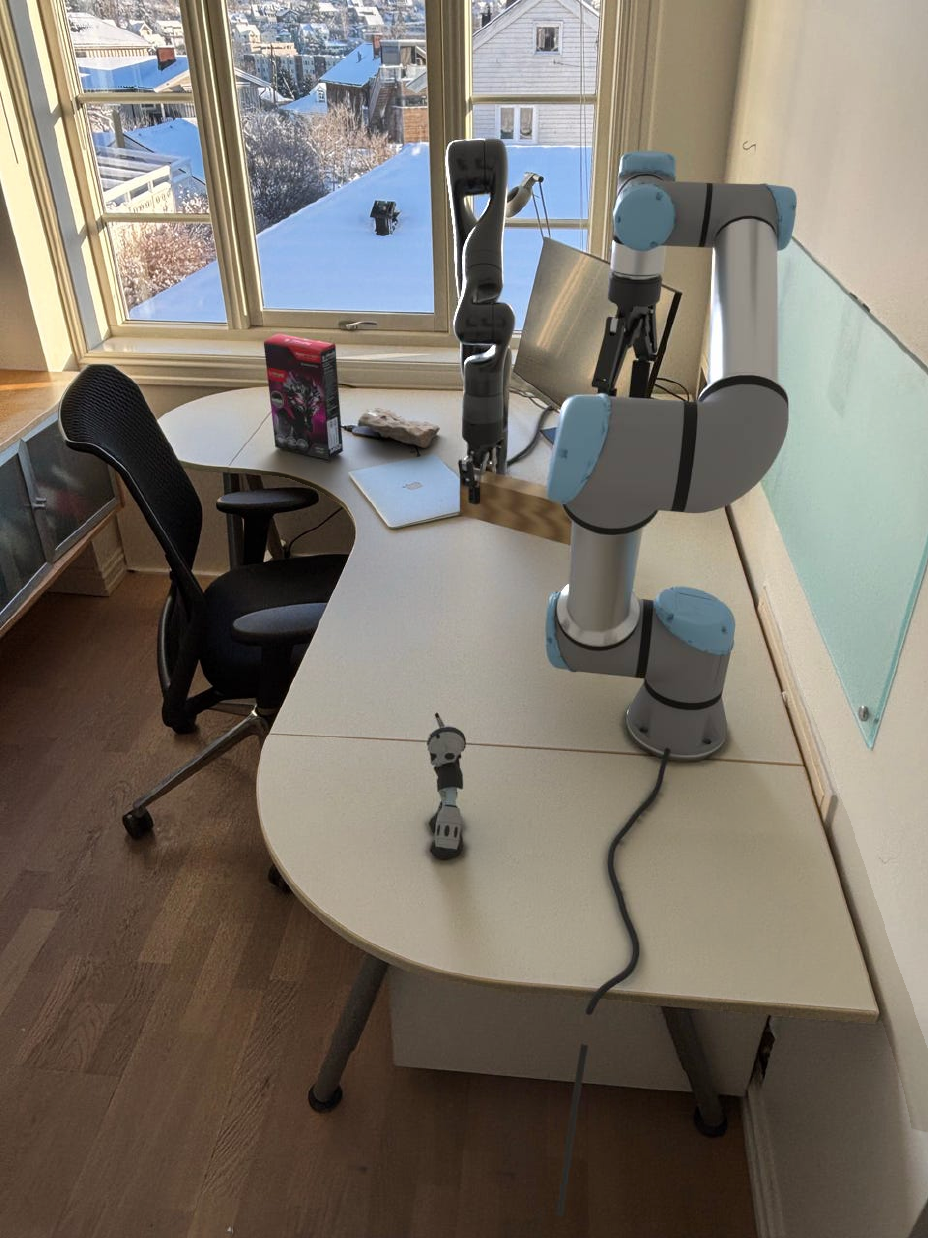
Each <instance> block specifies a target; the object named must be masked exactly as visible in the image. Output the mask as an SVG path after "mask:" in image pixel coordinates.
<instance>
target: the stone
mask: <svg viewBox="0 0 928 1238" xmlns="http://www.w3.org/2000/svg"><path fill="white" fill-rule="evenodd" d="M357 426H358V427H368V428H369V429H370V430H371V431H373V432H375V433H378V434H380V437H383V438H387V439H388V438H391V439H393V440H395V441H400V442H401V443H404V444H409V445H415V446H417V447H420V448H423V449H426V448H427V447H428V446H429V445H430V443H431V442H432V441H431V440H433V438H435V436H436V435H438V432H439V431H440V429H441V428H440V427H439V426H438V425H436V424H434V423H430V422H427V421H418V420H413V419H406V418H405V417H402V416H401V415H397V414H396V413H394V412H391V410H390V409H384V408H380V407H377V408H374V409H366V410H365V411H363V413H362V414H361V416H360V417H359V419H358V420H357Z"/></svg>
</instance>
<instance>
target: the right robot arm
mask: <svg viewBox="0 0 928 1238" xmlns="http://www.w3.org/2000/svg"><path fill="white" fill-rule="evenodd" d="M676 167H677V159H676V156H675V155H674V154H672V153H670V152H667V151H660V150H632V151H627V152H625V153H624V154H623V155H622V156H621V158H620V161H619V168H618V169H619V170H618V174H617V188H616V197H615V201H614V203H613V204H614V205H613V210H612V224H613V235H612V244H610V245H609V248H608V250H609V252H611V258H610V270H611V271H612V272H611V273H610V274H609V275H608V283H607V284H608V286H607V299H608V301H609V302H611V303H612V304H615V305H616V308H617V309H616V312H615V315H614V317H613V316H607V317H606V320H605V326H604V334H603V338H602V342H601V345H600V349H599V352H598V353H599V354H598V358H597V361H596V365H595V369H594V373H593V377H592V380H591V388H595V389H597V392H596V393H597V394H574V395H573V394H572V395H571V396H569V397H567V398H566V399H565V400H564V402H563V403H562V405H561V407H560V411H559V414H558V418H557V424H556V429H555V435H554V442H553V446H552V451H551V456H550V462H549V469H548V475H547V481H546V486H547V491H546V492H547V497H548V498H549V499H550V500H551V501H556V502H557V503H559V504H562V507H563V509H564V511H565V513H566V515H567V516H568V517H569V518H570V520H571V521H572V529H571V546H570V551H569V568H568V569H569V570H568V584H567V585H566V586H564V588H563V589H562V590H556V591H554V592H553V593H552V594H550V597H549V599H548V603H547V608H546V615H545V629H544V630H545V650H546V651H545V653H546V657H547V659H548V663H549V664H550V665H551V666H552V667H553V668H555V669H558V670H563V671H564V670H565V671H568V672H570V673H586V674H596V675H604V676H605V675H606V676H616V677H626V678H635V679H641V680H642V679H643V682H642V684H641V685H640V688H639V689H638V691H637V692H636V694H635V695H634V697H633V699H632V701H631V702H630V704H629V706H628V708H627V712H626V719H625V728H626V732H627V734H628V736H629V738H630V739H631V741H632V742H634V744H636V745H637V746H638V747H639V748H640V749H641V750H643V751H645V752H646V753H648V754H650V755H651V756H654V757H656V758H659V759H661V763H660V765H659V766H660V767H659V771H658V774H657V780H656V783H655V785H654V788H653V789H652V791H651V793H650V794H649V796H648V797H647V798H646V799H645V801H643V803H642V804H641V805H640V806H639V807H638V808H637V809H636V810H635V811H634V812H633V814H632V815H631V816H630V818H629V819H628V820H627V822H626V823H625V824H624V825H623V826H622V828H621V829H620V830H619V831H618V833H617V834H616V835H615V837H614V838H613V839H612V841H611V844H610V846H609V850H608V853H607V861H606V862H607V871H608V876H609V879H610V882H611V885H612V888H613V891H614V894H615V896H616V899H617V903H618V907H619V911H620V914H621V917H622V919H623V922H624V924H625V927H626V929H627V931H628V935H629V937H630V940H631V945H632V946H631V947H632V953H631V959H630V962H629V963H628V965H627V967H626V968H624V969H623V970H622V971H621V972H620V973H618V974H616V975H615V976H614V977H612V978H610V979H609V980H608V981H606V982H605V983H603V984H602V985H601V986H600V987H599V988H598V989H597V990H596V992H595V993H594V994H593V995H592V997H591V998H590V1000H589V1002H588V1004H587V1006H586V1008H585V1014H586V1015H588V1016H590V1015H592V1014H593V1013H594V1011H595V1008H596V1006H597V1004H598V1003H599V1001H600V1000H601V998H602V997H603V996H604V995H605V994H606V993H607V992H608V991H610V990H611V989H612V988H613V987H615V986H616V985H618V984H620V983H621V982H623V981H624V980H625V979H627V978H628V977H629V976H630V975H631V974H632V973H633V972H634V970H635V969H636V966H637V965H638V961H639V958H640V942H639V938H638V935H637V932H636V928H635V927H634V924H633V923H632V920H631V918H630V915H629V913H628V910H627V905H626V902H625V899H624V895H623V892H622V889H621V887H620V884H619V881H618V878H617V875H616V871H615V865H614V862H615V861H614V860H615V852H616V850H617V847H618V845H619V844H620V842H621V840H622V839H623V838H624V837H625V835H626V834H627V833H628V832H629V830H630V829H631V828H632V827H633V825H634V824H635V823H636V821H637V820H638V818H639V817H640V816H641V815H642V814H643V813H644V812H645V810H646V809H647V808H648V807H649V806H650V805H651V804H652V803H653V801H654V800H655V799H656V797H657V796H658V794H659V792H660V791H661V788H662V785H663V781H664V777H665V772H666V768H667V764H668V761H670V762H675V763H694V762H700V761H703V760H706V759H709V758H711V757H714V755H716V754H718V752H720V751H721V750H722V748H723V747H724V744H725V743H726V740H727V739H726V738H727V733H728V721H727V716H726V712H725V708H724V707H725V706H724V701H723V692H724V686H725V682H726V678H727V677H726V676H727V672H728V668H729V663H730V658H731V654H732V651H733V649H734V646H735V632H736V620H735V617H734V614H733V612H732V610H731V609H730V608H729V607H728V605H727V604H726V603H724V602H723V601H722V600H720V599H719V598H718V597H717V596H715V595H713V594H711V593H709V592H707V591H704V590H701V589H698V588H695V587H688V586H671V587H670V588H665V589H662V590H661V591H659V592H658V594H657V595H656V597H655V598H654V600H653V599H644V598H638V596H637V595H636V593H635V591H634V590H633V589H634V583H635V579H636V572H637V567H638V560H639V554H640V550H641V549H640V548H641V543H642V537H643V532H644V528H645V527H647V526H648V525H649V524H650V523H651V522H652V521H653V520H654V519H655V518H656V515H657V514H658V513H659V511H662V512H674V513H685V514H703V513H704V514H705V513H708V512H709V513H710V512H714V511H717V510H720V509H722V508H725V507H727V506H729V505H731V504H733V503H734V502H736V501H738V500H739V499H740V498H743V496H745V495H747V494H748V493H749V492H750V491H752V490H753V488H755V486H757V484H758V483H760V481H761V480H762V479H764V477H765V476H766V475H767V473H768V472H769V470H770V469H771V468H772V466H773V464H774V463H775V461H776V460H777V457H778V456H779V454H780V452H781V450H782V447H783V445H784V442H785V439H786V436H787V432H788V427H789V421H790V420H789V419H790V418H789V417H790V416H789V396H788V392H787V391H786V389H785V388H784V387H783V385H782V384H780V382H779V315H778V314H779V310H778V309H779V307H778V306H779V303H778V302H779V301H778V300H779V299H778V297H779V296H778V290H779V289H778V287H779V286H778V252H779V251H780V252H781V251H783V250H785V249H786V248H787V247H788V246H789V244H790V242H791V239H792V237H793V232H794V227H795V222H796V217H797V215H796V214H797V206H798V205H797V203H798V200H797V197H798V196H797V193H796V191H795V190H794V189H793V188H792V187H789V186H784V185H777V184H775V185H774V184H768V183H766V182H764V183H729V182H727V183H726V182H725V183H724V182H723V183H721V182H719V183H718V182H699V181H698V182H697V181H679V180H678V181H676V180H677V179H676V177H677V176H676V170H677V169H676ZM667 247H681V248H683V247H684V248H705V249H706V248H707V249H712V261H711V263H712V264H711V287H710V288H711V289H710V292H711V293H710V310H709V311H710V312H709V313H710V314H709V333H708V334H709V335H708V336H709V337H708V358H707V383H706V384H707V385H706V386H705V387H704V388H703V390H702V391H701V393H700V394H699V396H698V399H697V401H687V400H674V399H661V398H660V399H659V398H658V399H657V398H647V396H648V390H649V389H648V388H649V380H650V374H651V373H650V371H651V363H652V362H653V363H656V362H657V361H658V354H657V353H658V351H659V349H658V333H657V332H658V331H657V315H656V314H657V313H656V312H657V304H658V303H659V302H660V300H661V293H662V285H663V277H662V275H661V274H662V273H663V272H664V271H665V264H666V256H667ZM631 348H632V349H633V352H634V357H635V359H634V360H632V363H631V364H632V365H631V374H630V383H629V391H628V396H627V397H625V396H617V394H618V388H616V384H617V382H618V379H619V376H620V373H621V370H622V368H623V364H624V361H625V359H626V357H627V356H626V355H627V354H628V350H629V349H631ZM588 1048H589V1046H588V1045H586V1044H583V1043H581V1044H580V1049H579V1055H578V1060H577V1067H576V1073H575V1078H574V1086H573V1093H572V1099H571V1106H570V1112H569V1121H568V1127H567V1135H566V1142H565V1148H564V1149H565V1151H564V1158H563V1164H562V1165H563V1166H562V1171H561V1180H560V1189H559V1195H558V1203H557V1208H556V1216H557V1217H559V1218H561V1217H562V1216H563V1215H564V1214H563V1213H564V1207H565V1200H566V1194H567V1188H568V1179H569V1172H570V1166H571V1159H572V1153H573V1152H572V1150H573V1143H574V1137H575V1131H576V1123H577V1115H578V1111H579V1110H578V1109H579V1102H580V1096H581V1092H582V1091H581V1090H582V1085H583V1078H584V1071H585V1065H586V1061H587V1060H586V1059H587V1054H588Z"/></svg>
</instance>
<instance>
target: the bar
mask: <svg viewBox="0 0 928 1238" xmlns="http://www.w3.org/2000/svg"><path fill="white" fill-rule="evenodd" d="M474 469H475V470H480V469H477V468H474ZM474 475H475V474H474ZM476 477H477V476H476V475H475V480H476ZM466 480H467V478H466ZM546 491H547V485H544V484H539V483H536V482H531V481H529V480H528V481H527V480H524V479H521V478H520V479H519V478H516V477H512V476H508V475H506V476H504V475H500V474H496V473H493V472H489V471H485V474H484V475H483V476H482V477H481V483H480V503H479V504H478V505H475V504H472V503H469V501H468V487H466V486H462V485H461V479H460V478H459V515H460V516H463V517H467V518H470V519H474V520H477V521H481V522H484V523H488V524H492V525H496V526H499V527H502V528H506V529H509V530H512V531H517V532H521V533H523V534H527V535H532V536H534V537H538V538H542V539H545V540H549V541H553V542H556V543H560V544H563V545H567V546H570V547H571V529H572V521H571V520H570V518H569V517H568V516H567V515H566V513H565V511H564V509H563V507H562V504H559V503H557V502H556V501H551V500H550V499H549V498H548V497H547V492H546Z"/></svg>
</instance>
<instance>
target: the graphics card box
mask: <svg viewBox="0 0 928 1238" xmlns="http://www.w3.org/2000/svg"><path fill="white" fill-rule="evenodd" d="M336 347H337V345H336V343H335V342H326V341H321V340H314V339H309V338H304V337H299V336H295V335H294V336H293V335H288V334H283V333H277V334H275V335H272V336H270V337H268V338H266V339H265V340H264V341H263V350H264V357H265V358H264V360H265V367H266V373H267V374H266V376H267V383H268V394H269V401H270V410H271V411H270V412H271V420H272V429H273V438H274V446H275V448H277V449H282V450H286V451H290V452H295V453H299V454H302V455H303V454H304V455H308V456H311V457H315V458H320V459H324V460H330V459H332V458H334V457H336V456H338V455H339V454H341V453H342V452H344V445H343V432H342V418H341V404H340V392H339V379H338V378H339V375H338V362H337V348H336Z"/></svg>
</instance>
